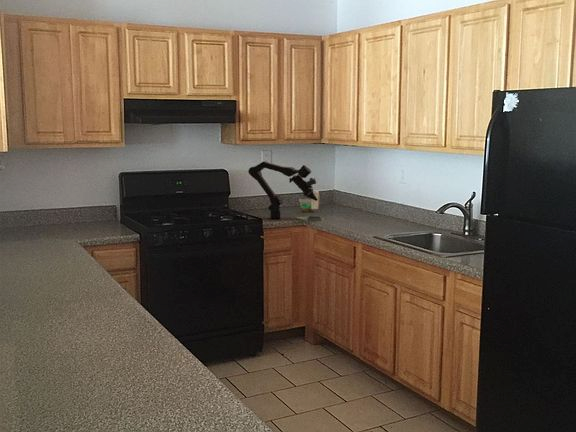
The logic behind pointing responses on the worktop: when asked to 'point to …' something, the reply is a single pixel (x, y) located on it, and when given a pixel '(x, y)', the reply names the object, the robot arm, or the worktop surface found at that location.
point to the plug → (315, 203)
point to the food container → (306, 205)
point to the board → (311, 218)
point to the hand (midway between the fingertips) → (317, 199)
